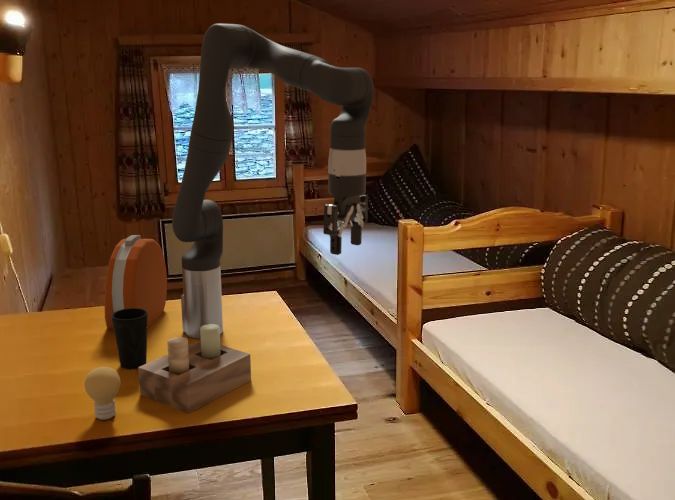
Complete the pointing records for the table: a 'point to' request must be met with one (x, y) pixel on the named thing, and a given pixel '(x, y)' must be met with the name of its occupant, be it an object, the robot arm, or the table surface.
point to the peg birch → (178, 355)
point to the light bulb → (103, 390)
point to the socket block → (195, 378)
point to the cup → (131, 336)
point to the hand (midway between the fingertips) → (346, 249)
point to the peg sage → (210, 341)
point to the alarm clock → (136, 278)
